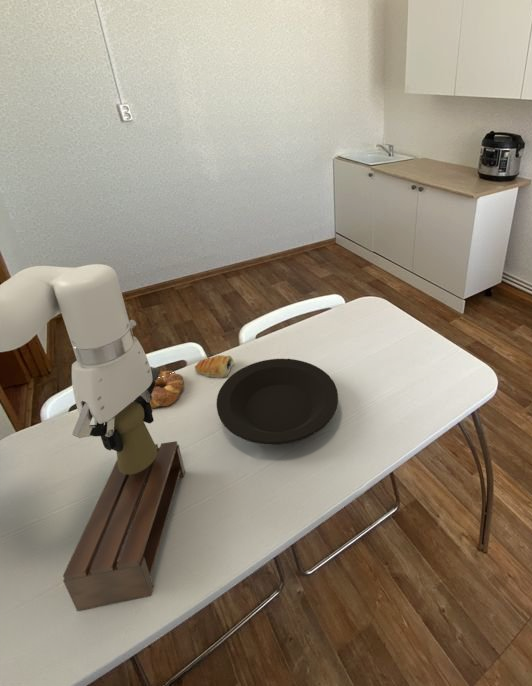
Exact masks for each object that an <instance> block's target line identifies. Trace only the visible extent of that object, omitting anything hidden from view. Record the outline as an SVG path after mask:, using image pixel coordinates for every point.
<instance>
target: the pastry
mask: <svg viewBox="0 0 532 686" xmlns="http://www.w3.org/2000/svg"><path fill="white" fill-rule="evenodd" d="M233 366H234V359H233V357H232V356H231V355H223V354H221V355H220V354H218V356H217V355H215V356H213V357H212V356H211V357H207V358H204V359H201V360H199V361H198V362H197V363H196V364H195V366H194V370H195V371H196V373H197V374H199V375H202V374H203V375H202V376H205V377H206V376H207V377H206V378H214V377H215V378H218V379H222V378H225V377H228V376H229V374H230V371H231V368H232V367H233Z"/></svg>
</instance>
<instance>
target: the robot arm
mask: <svg viewBox="0 0 532 686" xmlns="http://www.w3.org/2000/svg"><path fill="white" fill-rule="evenodd" d="M59 315H61V316H62V319H63V322H64V325H65V328H66V331H67V334H68V337H69V340H70V344H71V346H72V350H73V352H74V355H75V359H76V360H75V361H74V362H73V363H72V364H71V385H72V391H73V396H74V401H75V406H76V409H77V412H78V418H77V420H76V422H75V425H74V428H73V430H72V437H76V438H78V439H82V438H89V437H100V438H101V442H102V445H103V447H104V448H105V449H106V451H107V450H108V451H115V452H116V453H117V452H121V451H122V450H123V448H124V447H123V444H122V441H121V437H120V434H119V432H118V431H117V430H115V429H114V423H115V415H117V414H118V413H119V412H120V411H122V410H123V409H124V408H125V407H126V406H128V405H129V404H130V403H131V402H132V401H133V402H137V403H139V404H141V406H142V407H143V408H144V419H143V421H144V423H146V424H152V423H153V422H154V421H155V420H154V415H153V408H151V404H150V401H151V400H152V395H151V394H152V392H153V389H154V387H155V381H156V380H157V378H158V376H159V374H160V371H161V369H159V368H156V367H154V366H151V365H150V362H149V359H148V357H147V354H146V352H145V350H144V348H143V346H142V345H141V342H140V341H139V339H138V338H137V337H136V336H134V333H133V329H135V327H137V322H136V321H135V320H134V319H130V320H129V316H128V312H127V308H126V304H125V300H124V296H123V292H122V289H121V285H120V281H119V278H118V273H117V272H116V270H115V269H114V268H113V267H111V266H110V265H107V264H101V263H93V264H86V265H82V266H77V267H69V266H68V267H67V266H53V265H34V266H30V267H27V268H24V269H22V270H19V271H18V272H16V273H15V274H14V275H13V276H11V277H10V278H8V279H7V280H5V281H3V282H2V283H1V284H0V353H5V352H10V351H14V350H17V349H19V348H21V347H24V346H25V345H26V344H28V343H29V342H30V341H32V340H33V338H35V337H36V335H38V334H39V332H40V331H42V329H43V328H44V327H45V326H46V325H47V324H48V323H49V322H50V321H51V320H52V319H54V318H56V317H57V316H59ZM92 419H94V424H91V422H92Z"/></svg>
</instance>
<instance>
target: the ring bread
mask: <svg viewBox="0 0 532 686" xmlns="http://www.w3.org/2000/svg"><path fill="white" fill-rule="evenodd" d="M172 372H174V373H172ZM170 373H171V374H170ZM162 376H164V377H162ZM158 377H160V378H157V380H156V381H155V387H154V389H153V392H152V394H151V395H152V400H151V401H150V404H151V408H152V409H155V408H159V407H167V406H170V405H171V404H173V403H175V402H176V401H177V400H178V398H179V397H180V395H181V394H180V393H181V392H182V391H183V390H184V376H183V375H181V374H180V373H176V371H174V370H164V371H163V370H160V374H159V376H158Z"/></svg>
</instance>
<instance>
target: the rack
mask: <svg viewBox="0 0 532 686" xmlns="http://www.w3.org/2000/svg"><path fill="white" fill-rule="evenodd" d="M155 445H156V447H157V452H158V453H157V456H156V458H155V460H154V461H153V463H151V464H150V465H149V466H148V467H147V468H146V469H144V470H142V471H140V472H138V473H136V474H130V475H127V474H123V473H121V472H120V471H119V469H118V460H117V459H116V461H115V464H114V466H113V468H112V470H111V472H110V474H109V476H108V478H107V480H106V482H105V485H104V487H103V489H102V491H101V493H100V496H99V497H98V500H97V502H96V504H95V507H94V509H93V511H92V513H91V515H90V517H89V518H88V521H87V523H86V525H85V527H84V530H83V532H82V533H81V536H80V539H79V540H78V542H77V545H76V546H75V549H74V551H73V552H72V555H71V557H70V560H69V561H68V564H67V566H66V568H65V570H64V573H63V575H62V577H63V584H64V585H65V588H66V590H67V592H68V594H69V597H70V598H71V601H72V604H73V605H74V608H75V610H76V611H77V612H80V611H84V610H89V609H93V608H98V607H102V606H103V607H104V606H108V605H112V604H117V603H122V602H125V601H126V602H127V601H132V600H136V599H141V598H147V597H151V596H152V594H153V591H154V587H155V586H154V583H153V579H152V574H153V571H154V568H155V564H156V561H157V557H158V554H159V551H160V547H161V543H162V539H163V536H164V532H165V530H166V526H167V522H168V520H169V519H168V518H169V515H170V511H171V508H172V504H173V500H174V497H175V493H176V490H177V487H178V484H179V480H180V478H184V477H185V473H186V469H185V465H184V461H183V456H182V452H181V448H180V444H178V441H177V440H174V441H168V442H162V443H160V445H159V444H158V443H155Z"/></svg>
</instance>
